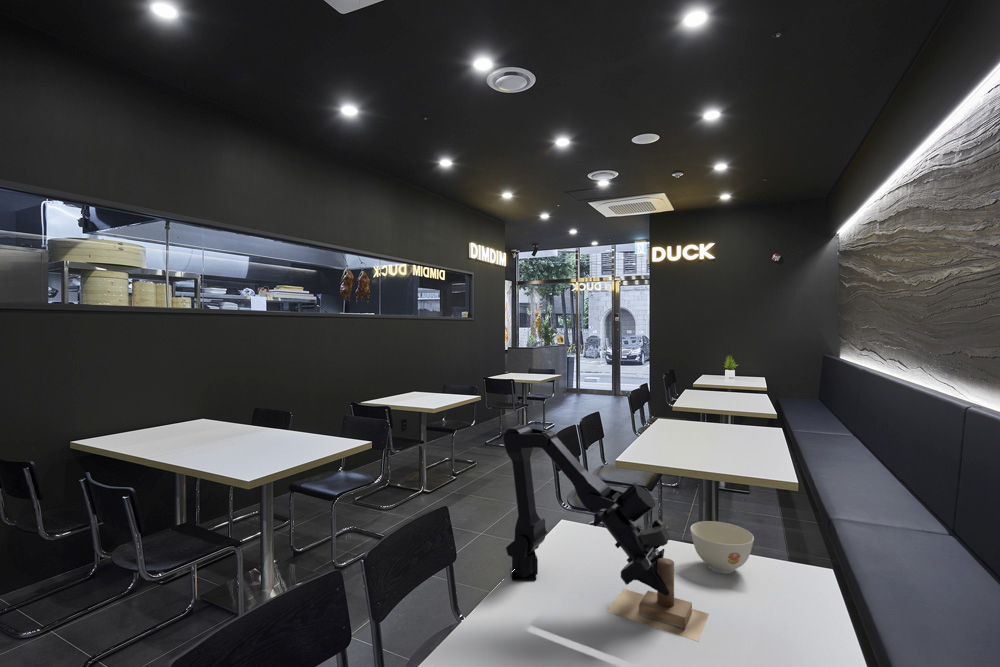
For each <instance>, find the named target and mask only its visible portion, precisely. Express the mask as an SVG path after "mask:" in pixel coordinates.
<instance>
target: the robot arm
mask: <svg viewBox="0 0 1000 667" xmlns="http://www.w3.org/2000/svg"><path fill="white" fill-rule="evenodd" d="M502 442H503V445H504V449H505V452H506V454H507V456H508V457H509V459H510V460H511V464H512V472H513V480H514V489H515V499H516V506H517V508H516V509H517V519H516V523H515V527H514V540H513V541H511V542H510V543H509V545H507V546H506V548H505V551H506V553H507V556H509V557H510V559H511V560H510V561H511V562H510V569H509V571H510V572H511V571H513V570H514V569H515V570H514V571H513V572H512V574H511V573H510V576H511V577H510V578H511V581H517V582H518V581H537V575H538V572H539V571H538V569H539V568H538V567H539V564H538V562H539V560H538V556H537V554H536V550H538V548H539V547H540V545H542V544H543V542H544V541H545V539H546V535H547V534H548V532H547V529H546V519H545V518H540V516H539V514H538V513H537V508H536V498H535V491H534V482H533V473H532V467H531V466H532V465H531V456H532V453H533V449H534V448H535V449H537V448H538V449H542V450H543V451H544V453H546V454H547V456H549V458H550V459H551V460H552V461H553V462H554V464H555V465H556V466H557V467H558V468H559V469H560V471H561V472H562V473H563V475H564V476H566V478H567V479H568V480H569V481H570V482H571V483H572V486H573V487H574V489H575V490H574V491H575V493H576V496H577V498H578V499H579V501H580V502H581V504H582V505H583V507H584V508H585V509H586V510H587V511H589V512H595V513H594V515H593V517H594V518H593V527H597V526H598V525H599V524H601V523H602V524H603V525H604V527H605V529H606V530H607V531H608V532H609V533H610V535H611V536H612V537H613V539H614V540H615V542H616V543H615V544H614V546H615V547H616V548H617V549H619V548H621V549H622V550H623V552H624V553H625V554H626V556H627V557H628V558H627V559H626V562H628V563H627V564H626V565H625V566H624V567H623V568H622V569H621V571H620V578H621V580H622V581H623V583H624V584H625V585H626V586H627V585H629V584H630V583H631V582H634V581H638V582H640V583H642V584H643V585H646V586H648V587H650V588H652V589H653V590H655V591H656V592H657V591H658V592H660V593H662V594H664V595H665V596H667V595H669V594H670V592H669V590H668V588H667V587H666V585H665V584H664V582H663V581H662V579H661V577H660V576H659V574H658V573H657V560H658V559H660V558H665V557H664V553H665V548H662V549H661V550H659V549H658V548H660V547H665V546H666V545H667V544H668V543H669V540H671V537H670V536H671V535H670V534H669V532H668V531H669V530H670V528H669V526H667V524H666V523H664V522H663V521H662V520H661V519H660V518H659V519H658V518H657V519H655V520H653V521H652V522H651V526H650V527H648V528H646V529H644V528H643V526H641V525H639V524H637V525H635V524H634V523H633V522H632V521H638V520H640V519H641V518H642V517H643V516H644V515H646V514H648V513H649V512H650V511H651V510H653V509H654V508H655V507H656V502H655V499H654V497H653V495H651V493H650V492H649V491H648V490H646V489H645V488H644V487H642V486H639V485H638V484H637V483H636V482H633V483H632V484H631V485H630V486H629V487H627V489H626V490H625V491H624V492H622V491H620V490H617V489H615V488H612V487H610V486H609V485H608V484H607V483H605V482H604V481H603V480H602V479H601V478H600V477H598V476H596V475H594V474H592V473H591V472H590V471H588V470H587V469H586V468H585V467H584V466H583V465H582V463H580V462H579V460H578V459H577V458H576V457H575V456H574V455H573V454H572V453H571V451H570V450H569V449H568V448H567V447H566V446H565V444H564V443H563V442H562V441H561V440H560V439H559V438H558V436H557V434H556V432H554V431H552V430H544V429H540V428H530V427H529V426H528V425H525V424H521V425H516V426H514V427H511V428H507V429H506V431H505V432H504V434H502ZM615 504H616V505H617V506H615V507H613V506H614V505H615ZM602 509H603V511H602V512H601V510H602ZM599 511H600V512H599Z"/></svg>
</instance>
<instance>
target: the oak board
mask: <svg viewBox="0 0 1000 667" xmlns="http://www.w3.org/2000/svg"><path fill="white" fill-rule="evenodd" d="M644 596H645V593H644V594H643V593H639V592H637V591H633V590H629V589H626V588H623V589H622V590H621V592H620V593H619V594H618V596H616V598H615V600H614V602H612V604H611V605H610V606H609V608H608V610H606V613H609V614H612V615H615V616H618V617H621V618H625V619H627V620H628V619H629V620H631V621H634V622H637V623H640V624H644V625H646V626H649V627H653V628H656V629H659V630H660V631H661V630H662V631H665V632H667V633H670V634H674V635H678V636H680V637H683V638H685V639H689V640H693V641H695V642H700V640H701V637H702V634H703V632H704V629H705V626H706V623H707V621H708V618H709V616H710V613H708V612H705V611H702V610H698V609H694V608H692V614H691V617H690V619H689V621H688V624H687V626H686V628H685V629H683V628H680V627H677V626H673V625H670V624H667V623H664V622H660V621H657V620H654V619H651V618H647V617H644V616H641V615H639V603H640V602H641V600H642V599H643V597H644Z"/></svg>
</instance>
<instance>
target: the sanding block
mask: <svg viewBox="0 0 1000 667" xmlns="http://www.w3.org/2000/svg"><path fill="white" fill-rule="evenodd" d="M657 573H658V574H659V576H660V577H661V579H662V581H663V582H664V584H665V585H666V587H667V588H668V590H669V592H670V594H669V595H667V596H665V595H664V594H662V593H660V592H658V591H657V590H656V592H655V591H652V590H647V591H646V593H644V595H645V596H644V597H643V599H642V600H641V602H640V603H639V615H641V616H644V617H647V618H651V619H654V620H657V621H660V622H664V623H667V624H670V625H673V626H677V627H680V628H683V629H685V628H686V626H687V624H688V621H689V619H690V617H691V614H692V609H693V603H692V602H691V601H687V600H684V599H681V598H677V597H675V562H674V560H673V559H670V558H667V557H663V558H660V559H658V560H657Z"/></svg>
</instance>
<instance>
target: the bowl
mask: <svg viewBox="0 0 1000 667" xmlns="http://www.w3.org/2000/svg"><path fill="white" fill-rule="evenodd" d="M690 535H691V539H692V543H693V546H694V549H695V551H696V554H697V555H698V556H699V558H700V559H701V560H702V561H703V562H704V563H705V564H707V566H708V568H709V569H710V568H711V569H712V571H713V570H714V571H713V572H715V571H716V573H718V572H719V574H723V573H724V575H725V574H726V575H727V574H732V573H734V571H735V569H736V570H737V569H738V568H740V567H742V566H744V564H746V562H747V561H748V559H749V558H750V554H751V551H752V548H753V545H754V541H755V537H754V534H753V533H751V532H750V531H749V530H748V529H745V528H743V527H741V526H739V525H735V524H732V523H728V522H723V521H716V520H714V521H711V520H704V521H703V520H702V521H698V522H695V523H693V524H692V525H691V526H690ZM711 569H710V570H711Z"/></svg>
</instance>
